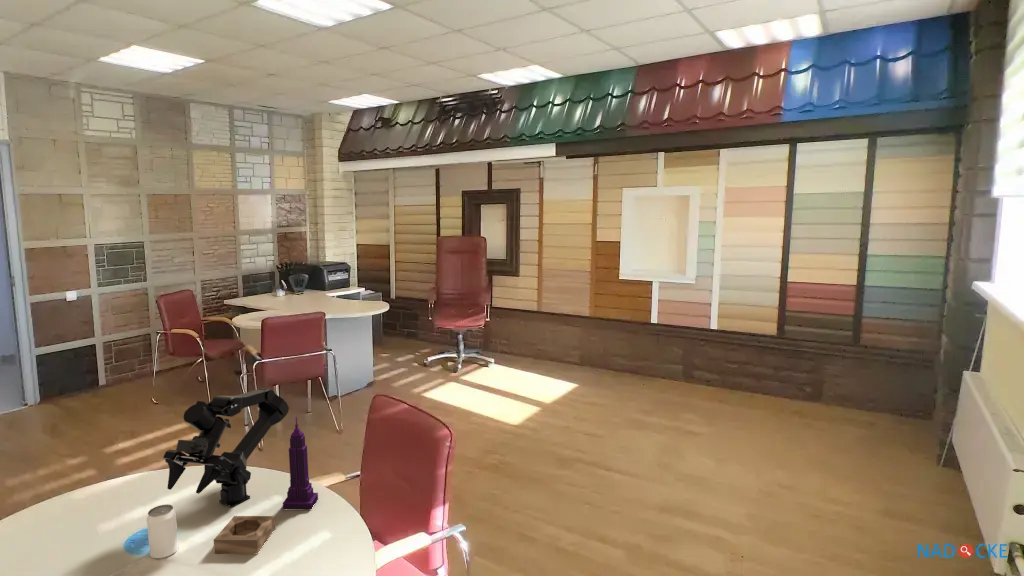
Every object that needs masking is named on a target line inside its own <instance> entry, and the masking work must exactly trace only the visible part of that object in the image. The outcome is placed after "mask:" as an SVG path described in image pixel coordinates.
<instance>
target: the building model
mask: <svg viewBox="0 0 1024 576" xmlns="http://www.w3.org/2000/svg"><path fill="white" fill-rule="evenodd" d="M294 427H295V428H294V429H293V432H292V433H291V434H290V438H289V446H290V447H289V448H288V459H289V460H288V461H289V476H290V477H289V483H290V484H289V487H288V489H287V492H286V494H287V495H286V498H285V499H284V501H283V502H282V510H283V509H312V507H313V505H314V504H315V503H317V502H318V501H319V493H318V492H314V487H313V486H312V484H313V483H312V482H310V477H309V460H308V459H309V457H308V445H307V444H306V438H305V436H306V435H304V432H303V431H302V430H301V428H299V423H298V418H297V417H295V425H294ZM317 500H318V501H317ZM315 505H316V504H315ZM315 505H314V506H315ZM313 508H314V507H313ZM312 510H313V509H312Z"/></svg>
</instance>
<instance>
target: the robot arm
mask: <svg viewBox="0 0 1024 576" xmlns="http://www.w3.org/2000/svg"><path fill="white" fill-rule="evenodd" d="M255 405H256V407H257V408H258V418H257V420H255V422H254V424H252V426H251V427H250V428H249V430H248V431H247V432H246V434H245V435H244V436H243V438H242V439H241V440H240V442H238V444H237V445H236V447H235V448H234V449H233V450H232V451H231V452H228V451H223V452H222V453H221V454H220V455H218V454H214V453H215V450H216V449H220V447H221V444H220V443H219V442H220V441H221V438H222V436H223V433H224V432H225V429H231V428H232V425H231V423H230V419H228V418H229V417H230V418H231V417H235V416H237V415H238V414H240V413H241V412H242V410H243V409H245V408H248V407H251V406H255ZM289 410H290V407H289V405H288V403H287V402H286V401H285V399H284V398H282V397H281V396H280V395H278V394H276V392H275V391H274V390H273V389H271V388H262V387H259V388H257V389H254V390H251V391H249V392H245V393H240V394H237V395H216V396H214V397H213V398H212V399H211V400H210V401H209V402H207V403H206V401H203V400H197V401H196V403H195V404H192V405H191V406H189V407H188V408H187V409H186V410H185V411H184V414H183V420H184V422H186V424H189V426H191V427H192V428H195V429H196V430H198V431H200V432H199V434H198V435H194V436H193V437H192V439H178V440H177V444H176V447H175V449H168V450H166V451H165V453H164V454H163V456H162V459H163V460H164V461H165V463H166V464H167V465H168V467H169V468H168V469H169V470H168V481H167V490H172V489H173V488H174V486H175V485H176V484H177V482H178V480H179V479H180V477H181V476H182V475H183V474H184V472H185V470H186V467H185V466H187V465H188V464H195V465H197V464H198V465H203V466H204V468H203V469H204V470H203V471H204V472H203V474H202V476H201V479H200V481H199V483H198V485H197V487H196V491H195V493H196V494H201V493H202V492H203V491H204V490H205V489H206V488H207V487H208V486H209V485H210V484H211V483H213V482H214V481H215V482H216V484H220V486H221V487H220V488H221V489H220V499H219V500H218V502H219V503H221V504H223V505H225V504H226V505H225V506H228V505H230V506H229V507H231V506H234V505H236V504H237V505H239V504H241V503H243V502H245V501H247V500H249V499H250V498H251V496H250V495H248V494H247V484H248V483H249V481H250V480H251V476H252V472H251V471H249V470H248V469H247V468H248V467H247V465H248V464H247V462H248V459H249V457H250V456H251V455H252V454H253V452H254V451H255V450H256V449H257V446H258V445H259V444H260V443H261V441H262V440H263V438H264V437H265V435H266V434H267V433H268V432H269V430H270V429H271V427H273V426H275V425H277V424H278V423H280V422H282V420H283V419H284V418H285V417H287V414H288V413H289ZM223 417H228V418H223ZM238 503H239V504H238ZM237 505H236V506H237ZM234 507H235V506H234Z"/></svg>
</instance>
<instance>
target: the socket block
mask: <svg viewBox="0 0 1024 576" xmlns="http://www.w3.org/2000/svg"><path fill="white" fill-rule="evenodd" d="M274 530H275V531H276V516H275V515H234V516H233V517H232V518H231V519H230V520H229V521H228V523H227V524H226V525H225V526H224V527H223V528H222V529H221V531H220V532H219V533H218V534H217V535H216V536H215V537H214V538H213V550H214V552H213V553H214V554H215V555H219V554H220V555H225V554H226V555H255V554H254V553H258V552H259V551H261V550H262V549H263V547H264V546H265V545H264V543H265V542H266V541H267V542H268V540H269V539H270V538H269V537H271V536H272V535H271V534H273V533H274V532H275V531H274ZM273 531H274V532H273ZM272 532H273V533H272ZM270 535H271V536H270ZM268 538H269V539H268ZM267 539H268V540H267ZM267 542H266V543H267ZM266 543H265V544H266ZM263 545H264V546H263ZM262 546H263V547H262ZM261 548H262V549H261ZM260 549H261V550H260ZM259 553H260V552H259ZM259 553H258V554H259Z"/></svg>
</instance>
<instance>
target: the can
mask: <svg viewBox="0 0 1024 576" xmlns="http://www.w3.org/2000/svg"><path fill="white" fill-rule="evenodd" d="M147 514H148V515H147V517H146V524H147V525H146V527H147V537H148V547H149V555H150V557H151V558H153V559H155V560H159V559H166V558H168V557H171V556H173V555H174V554H176V552H177V551H178V550H179V536H178V535H179V534H178V525H177V523H178V522H177V515H176V510H175V509H174V506H173V505H171V504H161V505H158V506H154V507H153V508H151V509H150V510H149V511H148V512H147Z"/></svg>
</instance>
